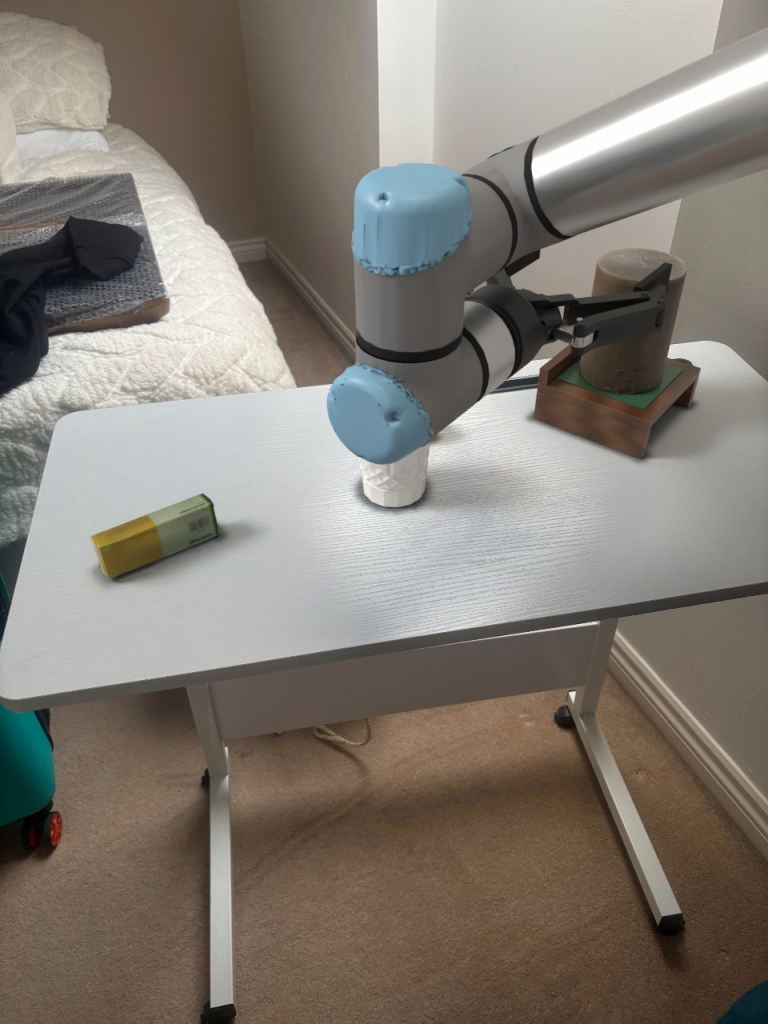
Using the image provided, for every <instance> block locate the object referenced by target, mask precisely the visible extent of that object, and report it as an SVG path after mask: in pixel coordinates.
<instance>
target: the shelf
mask: <svg viewBox="0 0 768 1024" xmlns="http://www.w3.org/2000/svg"><path fill="white" fill-rule="evenodd" d="M570 349H571V344H568V345H567V346H565V347H564V348H563V349H562V350H560V351H559V352H558V353H557V354H556V355H554V356H553V357H551V359H549V360H548V361H547V362H545V363H544V364H543V365H542V366H541V367H539V372H538V380H537V389H536V394H535V395H536V396H535V403H534V412H533V419H534V420H536V421H540V422H542V423H545V424H548V425H550V426H553V427H556V428H559V429H561V430H564V431H566V432H568V433H571V434H573V435H577V436H578V437H579V436H580V437H582V438H584V439H587V440H590V441H592V442H595V443H598V444H601V445H603V446H606V447H608V448H611V449H614V450H617V451H619V452H621V453H625V454H627V455H630V456H632V457H635V458H637V459H642V458H643V457H644V456H645V455H646V451H647V446H648V442H649V439H650V434H651V430H652V426H653V425H654V424H655V423H656V422H657V421H658V420H659V419H660V418H661V417H662V416H663V415H664V413H666V412H667V410H668V409H670V407H671V406H672V405H673V404H674V403H676V404H679V405H681V406H685V407H688V408H689V407H690V406H691V405H692V403H693V401H694V398H695V393H696V389H697V385H698V381H699V378H700V373H701V370H702V368H701V367H699V366H697V365H692V364H690V363H686V362H684V361H680V360H677V359H674V358H670V357H667V361H666V365H665V370H664V374H663V378H662V381H661V383H660V384H659V386H658V387H656V388H655V389H652V390H650V391H647V392H643V393H636V394H619V393H614V392H610V391H607V390H604V389H600V388H598V387H595V386H593V385H591V384H590V383H589V382H587V381H586V380H585V379H584V378H583V377H582V375H581V372H580V361H581V356H574V355H572V354H571V353H570Z"/></svg>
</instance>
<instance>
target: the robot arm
mask: <svg viewBox="0 0 768 1024" xmlns="http://www.w3.org/2000/svg"><path fill="white" fill-rule="evenodd" d="M766 170H768V26H767V27H765V28H763V29H761V30H757V31H756V32H754V33H751V34H750V35H748V36H745V37H743V38H742V39H739V40H737V41H734V42H733V43H731V44H729V45H726V46H724V47H722V48H720V49H718V50H716V51H714V52H711V53H709V54H707V55H705V56H703V57H701V58H699V59H697V60H694V61H692V62H690V63H688V64H686V65H684V66H682V67H679V68H678V69H675V70H674V71H672V72H669V73H667V74H665V75H663V76H660V77H659V78H657V79H655V80H652V81H650V82H648V83H645V84H644V85H642V86H640V87H637V88H635V89H634V90H631V91H629V92H627V93H624V94H623V95H620V96H618V97H616V98H614V99H612V100H610V101H608V102H606V103H603V104H602V105H599V106H597V107H595V108H593V109H591V110H589V111H586V112H584V113H582V114H580V115H579V116H576V117H573V118H572V119H570V120H568V121H565V122H564V123H561V124H559V125H557V126H554V127H553V128H551V129H549V130H546V131H545V132H543V133H542V134H540V135H538V136H535V137H532V138H530V139H527V140H525V141H523V142H521V143H519V144H512V145H510V146H508V147H506V148H503V149H501V150H500V151H498V152H495V153H494V154H492V155H490V156H488V157H487V158H485V160H483V161H481V162H479V163H476V164H475V165H473V166H472V167H470V168H468V169H466V170H465V171H462V172H461V173H460V172H459V171H456V170H455V169H453V168H451V167H450V168H449V167H447V166H444V165H440V164H439V165H438V164H433V163H425V162H402V163H398V164H397V165H392V166H382V167H379V168H378V167H377V168H375V169H373V170H371V171H370V172H368V173H366V174H365V175H364V176H363V177H362V178H361V180H360V181H359V182H358V183H357V185H356V188H355V191H354V198H353V199H354V201H353V202H354V204H353V230H352V231H351V236H352V237H351V241H350V243H351V244H350V245H351V252H352V253H353V256H352V257H353V276H354V297H355V299H354V300H355V302H354V303H355V328H356V333H355V337H354V338H355V363H354V364H353V365H349V366H347V367H346V368H345V370H344V371H343V373H341V374H340V375H338V376H337V377H336V378H335V379H334V380H333V382H332V384H331V386H330V388H329V391H328V393H327V396H326V411H327V417H328V420H329V423H330V425H331V428H332V430H333V431H334V433H335V435H336V436H337V438H338V439H339V441H340V442H341V444H343V446H345V448H346V449H347V450H349V452H351V453H352V455H355V457H357V458H359V457H360V458H363V459H365V460H366V461H369V462H370V463H374V464H379V465H385V464H392V463H395V462H397V461H399V460H401V459H402V458H404V457H406V456H407V455H409V454H410V453H412V452H414V451H415V450H417V449H418V448H420V447H424V446H425V445H427V444H428V443H429V442H430V443H431V442H432V439H434V438H433V437H435V438H436V436H437V435H438V434H439V433H441V432H442V431H444V430H445V429H446V428H448V427H449V426H450V425H451V424H452V423H454V422H455V421H456V420H457V419H459V418H460V417H461V416H462V415H463V414H465V413H466V412H468V410H470V409H471V408H473V407H474V406H475V405H476V404H477V403H479V402H480V401H482V400H483V399H484V398H486V396H488V395H489V394H491V393H492V392H494V391H495V390H496V389H497V388H498V387H500V386H501V385H502V384H503V383H504V382H506V381H507V380H509V379H511V378H512V377H513V376H514V375H516V374H517V373H519V371H521V370H522V369H524V367H526V366H527V365H529V364H530V363H531V362H532V361H533V360H534V359H535V357H536V356H537V354H538V353H539V352H540V350H541V349H542V348H543V346H546V345H548V344H554V343H556V342H557V341H561V342H563V343H565V344H568V345H569V344H571V349H570V353H571V354H572V355H574V356H582V355H584V354H586V353H588V352H589V351H591V350H592V349H594V348H597V347H600V346H604V345H608V344H612V343H616V342H619V341H623V340H627V339H631V338H635V337H638V336H642V335H646V334H650V333H653V332H657V331H661V330H662V329H663V326H664V321H665V317H666V312H667V307H668V301H667V300H664V295H665V293H666V292H667V288H668V284H669V279H670V274H671V269H672V265H673V264H670V263H666V262H665V263H663V264H662V265H661V266H659V267H658V268H657V269H656V270H654V271H653V272H652V273H650V274H649V275H648V276H647V277H645V278H644V279H643V280H641V281H640V282H639V283H638V284H636V285H635V286H634V290H633V292H630V293H621V294H611V295H602V296H592V297H591V296H584V297H575V296H574V294H573V293H561V294H552V295H547V294H544V293H536V292H535V291H532V290H529V289H526V288H521V289H519V288H516V286H515V285H514V284H513V281H512V279H511V277H513V276H514V275H516V274H518V273H519V272H521V271H522V270H523V269H525V268H527V267H528V266H530V265H531V264H533V263H534V262H536V261H538V260H539V259H540V258H541V250H543V249H545V248H548V247H551V246H554V245H557V244H560V243H562V242H565V241H568V240H569V239H572V238H575V237H577V236H578V235H582V234H584V233H587V232H591V231H593V230H596V229H599V228H601V227H604V226H608V225H610V224H613V223H616V222H618V221H621V220H624V219H627V218H630V217H633V216H636V215H639V214H642V213H645V212H648V211H650V210H653V209H657V208H659V207H662V206H665V205H667V204H671V203H674V202H676V201H679V200H682V199H685V198H688V197H690V196H693V195H697V194H699V193H702V192H705V191H708V190H711V189H713V188H716V187H719V186H722V185H725V184H728V183H731V182H734V181H736V180H739V179H742V178H745V177H748V176H752V175H754V174H757V173H760V172H762V171H766ZM484 283H485V284H486V285H484V286H481V285H482V284H484ZM479 286H481V287H479ZM478 287H479V288H478ZM476 288H477V289H476ZM475 289H476V290H475ZM560 307H563V313H562V314H561V311H560Z"/></svg>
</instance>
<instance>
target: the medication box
mask: <svg viewBox="0 0 768 1024" xmlns="http://www.w3.org/2000/svg"><path fill="white" fill-rule="evenodd" d="M214 503H215V502H213V501H212V499H211V498H210V497H208V496H207V495H206V494H205V493H203V492H202V493H199V494H196V495H194V496H192V497H189V498H187V499H184V500H181V501H179V502H176V503H173V504H171V505H168V506H165V507H162V508H160V509H158V510H157V509H156V510H155V511H152V512H150V513H147V514H145V515H142V516H139V517H137V518H134V519H131V520H129V521H126V522H124V523H121V524H118V525H116V526H113V527H110V528H108V529H105V530H103V531H99V532H97V533H95V534H93V535H91V536H90V541H91V542H92V545H93V546H92V547H93V549H94V552H95V556H96V559H97V562H98V569H100V570H101V572H102V573H103V575H104V576H105V577H106V578H107V579H108V580H111V579H114V578H116V577H118V576H122V575H123V574H126V573H128V572H131V571H133V570H135V569H139V568H141V567H143V566H146V565H148V564H151V563H153V562H156V561H158V560H161V559H163V558H166V557H168V556H171V555H173V554H175V553H178V552H180V551H183V550H185V549H189V548H190V547H192V546H195V545H198V544H200V543H203V542H205V541H207V540H210V539H213V538H215V537H220V535H221V531H220V529H219V525H218V524H219V523H218V519H217V515H216V510H215V504H214Z"/></svg>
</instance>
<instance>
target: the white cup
mask: <svg viewBox="0 0 768 1024" xmlns="http://www.w3.org/2000/svg"><path fill="white" fill-rule="evenodd" d="M430 448H431V441H430V442H429V443H428V444H427V445H425V446H424V447H420V448H418V449H417V450H415V451H414V452H412V453H410V454H409V455H407V456H406V457H404V458H402V459H401V460H399V461H397V462H395V463H392V464H385V465H379V464H374V463H370V462H369V461H366V460H365V459H363V458H360V457H358V461H359V467H360V468H359V469H360V472H361V477H362V478H361V479H362V487H363V494H364V495H365V496H366V498H367V499H368V500H369V501H371V502H372V503H374V504H376V505H379V506H382V507H384V508H402V507H405V506H410V505H412V504H414V503H416V502H417V501H418V500H420V499H421V498H422V497H423V494H424V492H425V490H426V479H427V472H428V467H429V457H430Z"/></svg>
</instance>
